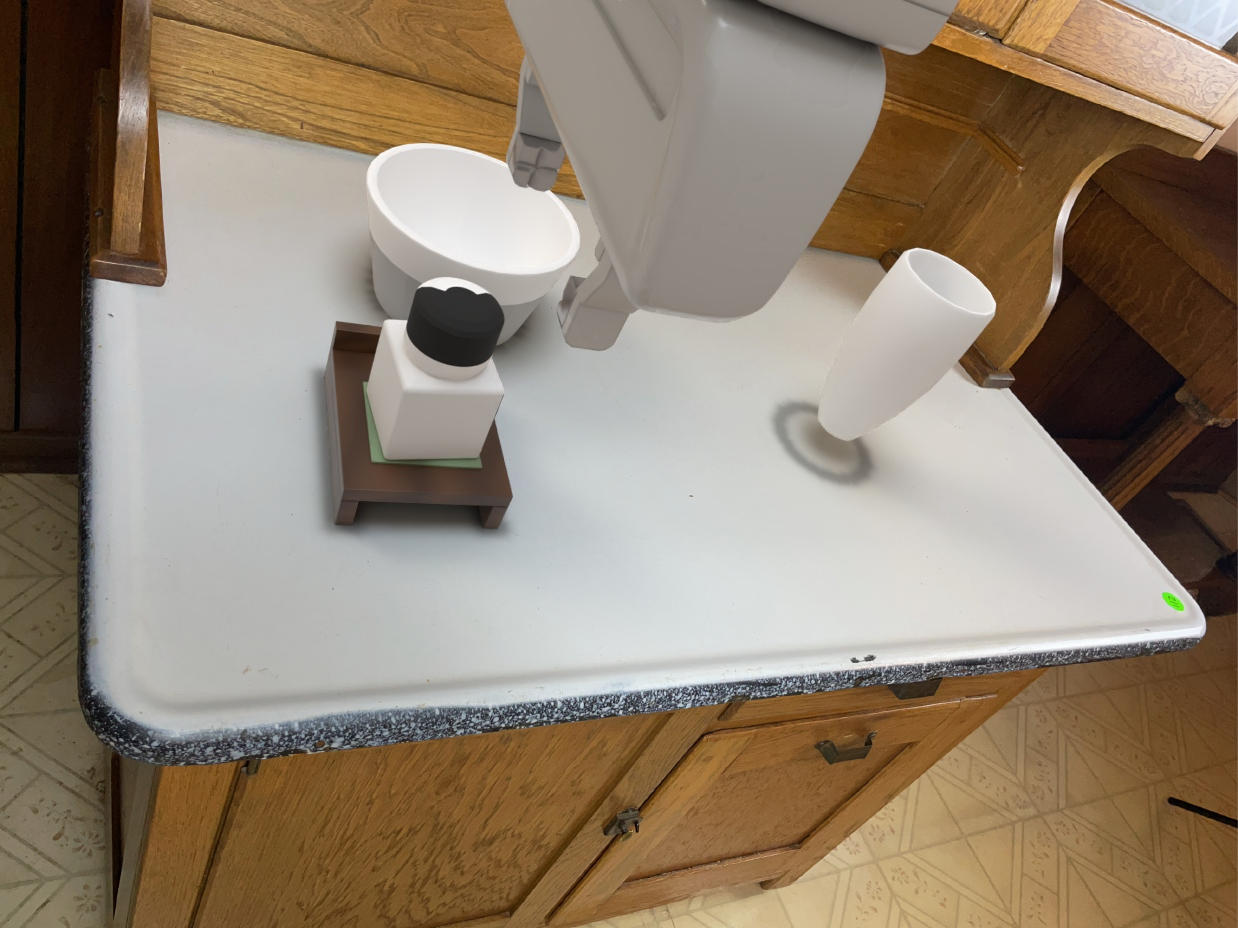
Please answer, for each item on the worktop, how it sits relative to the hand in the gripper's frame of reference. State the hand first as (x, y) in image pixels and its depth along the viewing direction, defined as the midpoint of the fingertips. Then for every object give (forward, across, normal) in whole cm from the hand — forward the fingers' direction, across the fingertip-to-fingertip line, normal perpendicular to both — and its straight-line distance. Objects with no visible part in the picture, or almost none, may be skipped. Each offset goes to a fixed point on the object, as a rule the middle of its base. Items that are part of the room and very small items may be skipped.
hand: (551, 250), depth 31 cm
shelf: (+33, -20, +4) cm, 39 cm away
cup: (+33, -25, +48) cm, 64 cm away
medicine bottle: (+29, -19, +4) cm, 35 cm away
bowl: (+33, -40, +10) cm, 53 cm away
